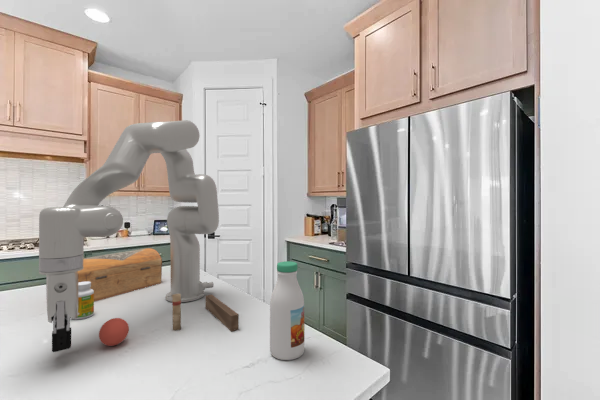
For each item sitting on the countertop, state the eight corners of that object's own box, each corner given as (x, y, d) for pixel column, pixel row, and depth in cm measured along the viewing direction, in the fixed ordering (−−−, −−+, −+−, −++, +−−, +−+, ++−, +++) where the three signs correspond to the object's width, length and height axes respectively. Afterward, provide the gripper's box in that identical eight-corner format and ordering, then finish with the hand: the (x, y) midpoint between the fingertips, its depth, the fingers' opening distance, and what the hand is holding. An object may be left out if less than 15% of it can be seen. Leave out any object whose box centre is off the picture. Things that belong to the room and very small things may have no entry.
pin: (179, 326, 80) (179, 293, 80) (181, 329, 78) (181, 295, 78) (171, 328, 79) (171, 294, 79) (173, 331, 77) (173, 296, 77)
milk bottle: (278, 365, 61) (278, 268, 61) (264, 348, 68) (264, 261, 68) (310, 355, 65) (310, 264, 65) (294, 340, 72) (294, 258, 72)
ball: (127, 336, 74) (127, 312, 74) (130, 345, 69) (130, 320, 69) (98, 343, 71) (98, 317, 71) (99, 353, 66) (99, 326, 66)
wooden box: (139, 278, 129) (139, 246, 129) (163, 284, 120) (163, 249, 120) (55, 298, 103) (54, 258, 103) (77, 307, 95) (77, 263, 95)
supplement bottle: (81, 320, 84) (81, 286, 83) (66, 319, 85) (65, 285, 85) (98, 313, 89) (98, 281, 89) (83, 312, 90) (83, 280, 90)
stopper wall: (211, 306, 94) (211, 294, 94) (238, 329, 78) (238, 314, 78) (205, 308, 93) (205, 295, 93) (231, 331, 77) (231, 316, 77)
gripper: (83, 268, 60) (83, 358, 60) (83, 256, 73) (83, 332, 73) (34, 273, 56) (34, 370, 56) (42, 260, 68) (42, 340, 68)
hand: (61, 348), depth 64 cm, fingers closed
